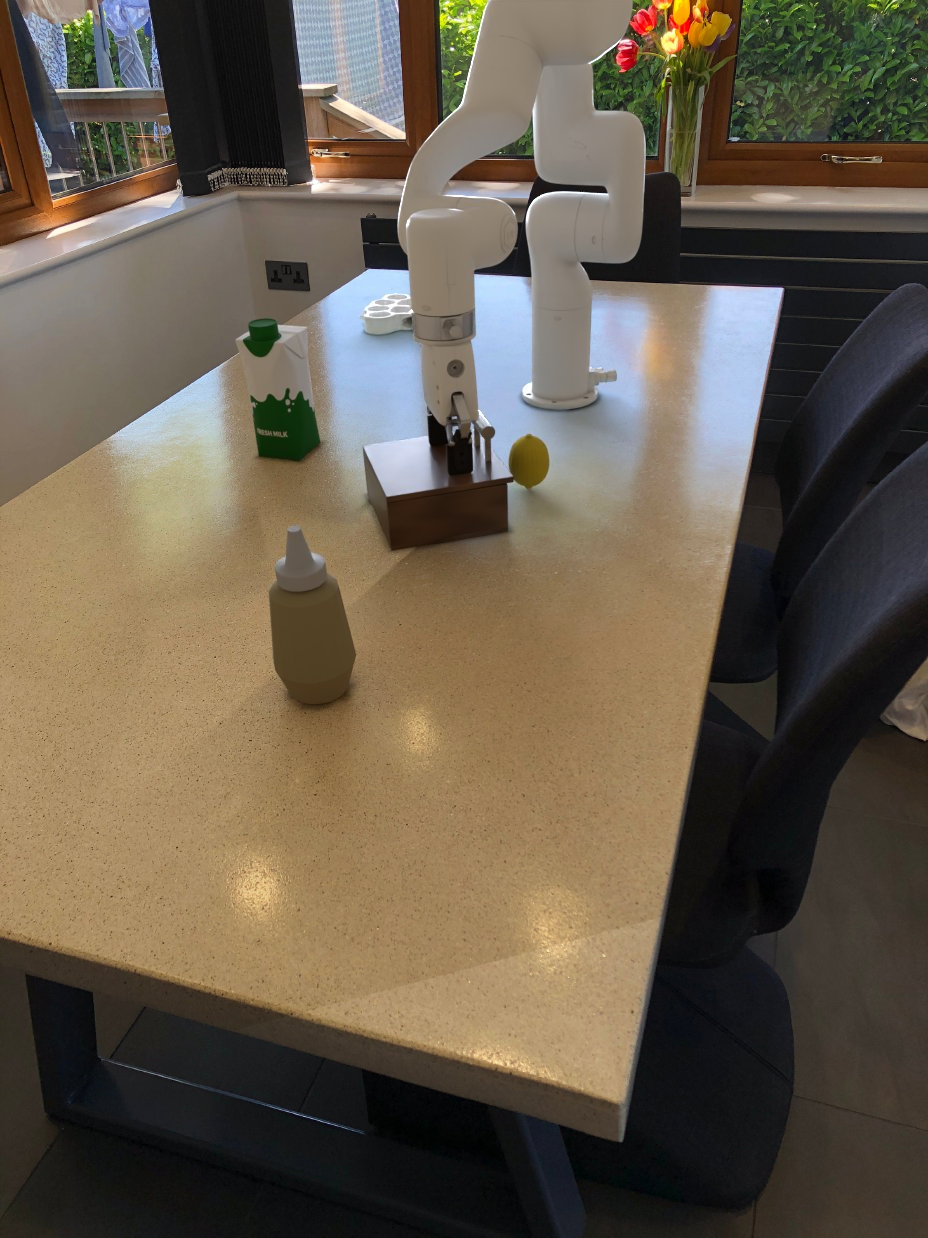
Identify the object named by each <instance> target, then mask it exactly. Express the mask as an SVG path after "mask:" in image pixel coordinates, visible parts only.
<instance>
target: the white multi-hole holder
mask: <svg viewBox="0 0 928 1238" xmlns="http://www.w3.org/2000/svg"><path fill="white" fill-rule="evenodd" d="M357 318H358V319H360V320H362V321H363V322H364V331H365V333H366V334H369V335H375V336H376V335H378V336H379V335H381V336H382V335H388V334H391V333H393V332H397V331H413V328H412V313H411V298H410V295H408V294H406V293H405V294H404V293H391V294H385V295H383V297H381V298H379V299H375V300H373V301H371V302H369V305H368V306H365V307H364V312H363V313H362V314H360V315H358V316H357Z"/></svg>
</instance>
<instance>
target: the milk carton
mask: <svg viewBox="0 0 928 1238" xmlns="http://www.w3.org/2000/svg"><path fill="white" fill-rule="evenodd" d="M247 326H248V331H247V332H245V333H243V334H242V335H240V336H239V337H237V338H235V340H234V342H235V344H236V348H237V350H238V354H239V356H240V358H241V362H242V366H243V371H244V376H245V381H246V387H247V393H248V399H249V404H250V409H251V415H252V416H251V417H252V420H253V421H252V422H253V428H254V429H253V430H254V434H255V441H256V448H257V454H258V457H259V458H268V459H277V460H285V461H291V462H292V461H293V462H301V461H302V460H303V459H304V458H306V457H307V455H308V454H310V453H311V452H313V450H314V449H315V448H316V447H318V446H319V445H320V444H321V443H322V442H321V438H320V432H319V426H318V422H317V417H316V408H315V401H314V395H313V388H312V387H313V386H312V378H311V373H310V365H309V364H310V363H309V346H308V345H309V344H308V342H309V340H308V339H309V337H308V336H309V333H308V330H309V329H308V328H309V327H308V326H302V325H301V326H299V325H286V324H285V325H283V324H278V321H277V320H276V319H274V318H268V317H266V318H258V319H253V320H251V321H249V322H248V323H247Z"/></svg>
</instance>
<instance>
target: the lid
mask: <svg viewBox="0 0 928 1238" xmlns="http://www.w3.org/2000/svg"><path fill="white" fill-rule="evenodd" d="M478 411H479V418H478V420H477V421H476V422H472V421H471V425H473V428H470V430H472V431H471V432H472V447H473V471H472V472H471V473H465V474H458V475H452V476H451V475H449V474H448V472H447V455H446V444H449V443H446V444H440V445H430V443H429V438H428V435H424V436H422V435H421V436H416V437H410V438H403V439H397V440H388V441H383V442H375V443H369V444H363V445H362V453H363V452H364V454H365V456H366V458H367V460H368V463H369V465H370V467H371V469H372V471H373V473H374V476H375V478H376V480H377V482H378V484H379V487H380V489H381V491H382V493H383V495H384V497H385V500H386V502H387V503H389V502H395V501H401V500H407V499H413V498H419V497H426V496H432V495H438V494H444V493H450V492H456V491H462V490H469V489H475V488H481V487H487V486H493V485H499V484H506V483H507V484H511V483H514V482H515V480H514V477H513V475H512V474H511V473H510V470H509V468H508V467H507V466H506V465H505V463H504V462H503V461H502V459H501V458H500V456H499V455H498V454H497V453H496V451H495V450H494V449H493V448H492V439H493V438H494V437H495V435H496V429H495V427H494V426H493V425H492V424H491V422H489V420H488V419H487V418H486V416H485V415H484V414H483V412H482V411H481V410H480V409H478ZM454 432H455V431H453V435H454Z"/></svg>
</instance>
